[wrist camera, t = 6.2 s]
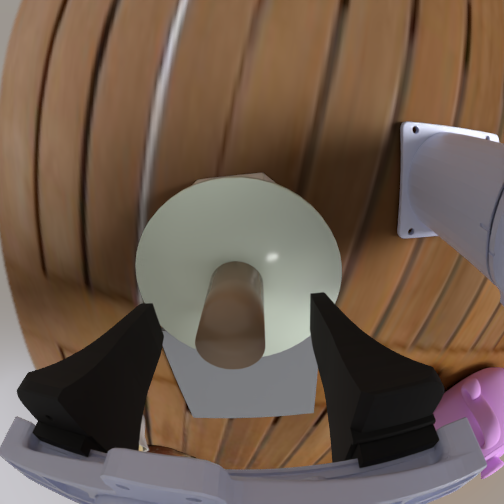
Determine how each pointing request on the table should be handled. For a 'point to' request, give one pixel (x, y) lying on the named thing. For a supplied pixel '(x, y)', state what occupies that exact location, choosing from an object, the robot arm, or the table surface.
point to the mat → (245, 382)
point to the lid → (237, 268)
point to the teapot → (478, 412)
